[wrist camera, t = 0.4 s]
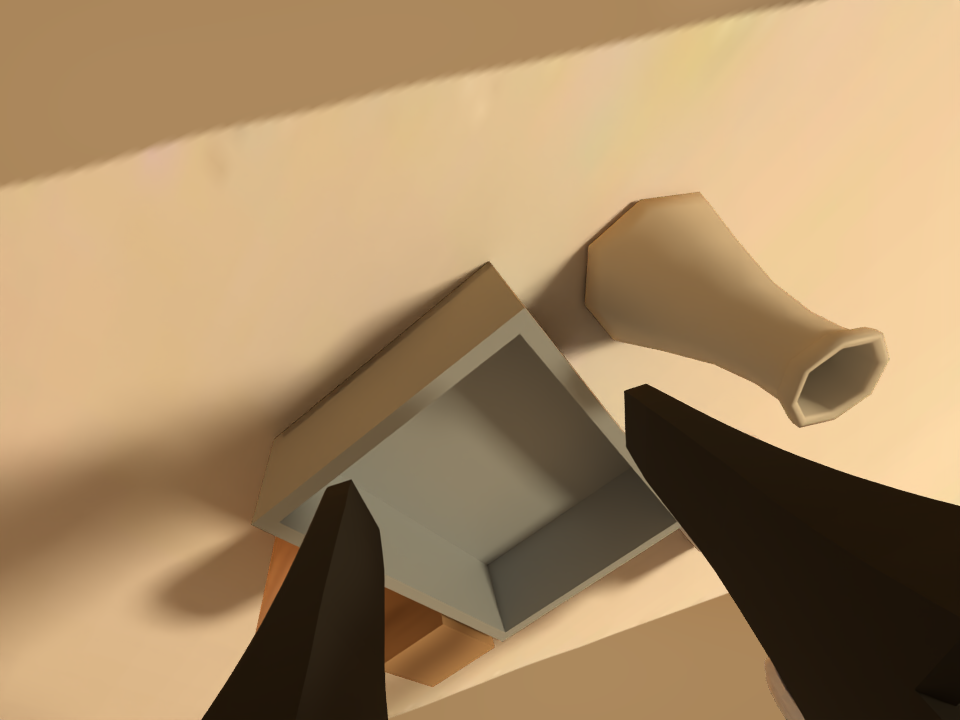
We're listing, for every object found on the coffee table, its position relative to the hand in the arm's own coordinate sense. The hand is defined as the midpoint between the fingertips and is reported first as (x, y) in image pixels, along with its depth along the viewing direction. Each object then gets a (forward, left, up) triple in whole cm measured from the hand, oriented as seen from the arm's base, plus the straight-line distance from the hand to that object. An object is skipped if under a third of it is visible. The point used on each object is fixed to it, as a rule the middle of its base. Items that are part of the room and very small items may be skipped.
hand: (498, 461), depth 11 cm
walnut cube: (-15, +14, -10) cm, 23 cm away
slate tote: (-8, +4, -10) cm, 14 cm away
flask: (-5, -9, -10) cm, 14 cm away
